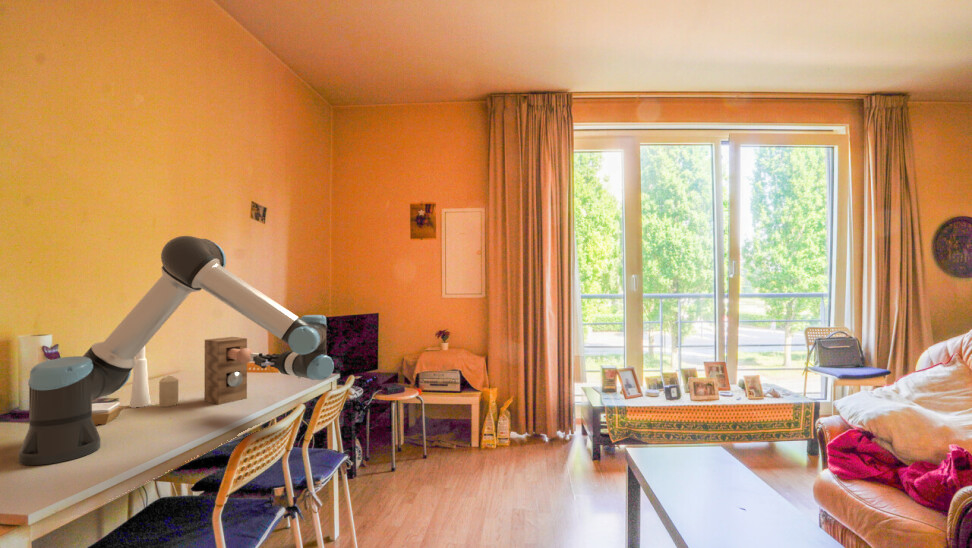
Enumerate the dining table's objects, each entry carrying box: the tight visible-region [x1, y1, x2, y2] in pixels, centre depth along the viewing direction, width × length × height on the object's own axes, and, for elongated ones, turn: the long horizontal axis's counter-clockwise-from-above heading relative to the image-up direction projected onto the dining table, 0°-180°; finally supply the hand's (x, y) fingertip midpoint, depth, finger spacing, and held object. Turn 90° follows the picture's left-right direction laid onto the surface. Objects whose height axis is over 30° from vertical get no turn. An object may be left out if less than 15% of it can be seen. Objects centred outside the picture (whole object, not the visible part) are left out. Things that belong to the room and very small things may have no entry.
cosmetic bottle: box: [128, 345, 152, 409], centre depth 161 cm, size 6×6×22 cm
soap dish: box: [92, 401, 124, 426], centre depth 142 cm, size 12×10×5 cm
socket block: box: [203, 336, 248, 405], centre depth 169 cm, size 10×10×22 cm
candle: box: [158, 375, 179, 408], centre depth 162 cm, size 6×6×10 cm
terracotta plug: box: [226, 347, 254, 364], centre depth 165 cm, size 11×5×5 cm, turn 57°
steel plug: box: [226, 372, 243, 387], centre depth 168 cm, size 11×5×5 cm, turn 57°
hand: (252, 356), depth 160 cm, fingers closed
